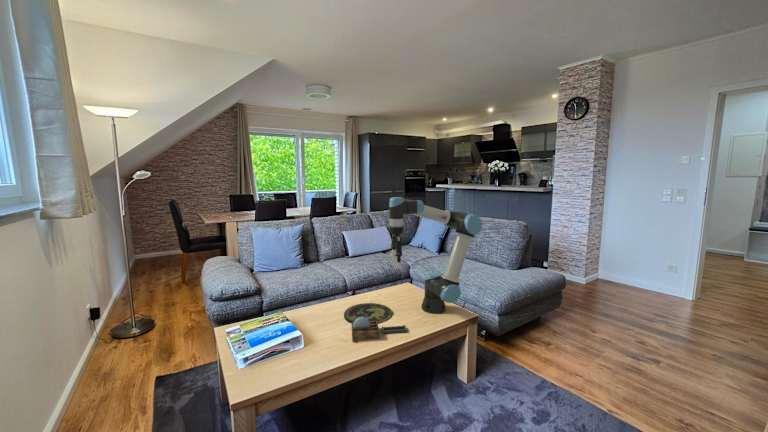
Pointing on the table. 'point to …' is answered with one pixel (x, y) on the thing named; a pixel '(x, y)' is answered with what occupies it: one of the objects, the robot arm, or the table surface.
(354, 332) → the dish rack
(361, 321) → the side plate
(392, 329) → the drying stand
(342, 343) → the table surface
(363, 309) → the decorative plate
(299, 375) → the table surface
